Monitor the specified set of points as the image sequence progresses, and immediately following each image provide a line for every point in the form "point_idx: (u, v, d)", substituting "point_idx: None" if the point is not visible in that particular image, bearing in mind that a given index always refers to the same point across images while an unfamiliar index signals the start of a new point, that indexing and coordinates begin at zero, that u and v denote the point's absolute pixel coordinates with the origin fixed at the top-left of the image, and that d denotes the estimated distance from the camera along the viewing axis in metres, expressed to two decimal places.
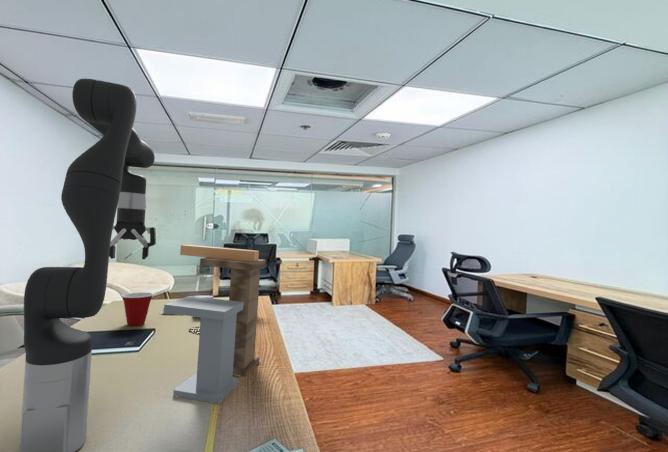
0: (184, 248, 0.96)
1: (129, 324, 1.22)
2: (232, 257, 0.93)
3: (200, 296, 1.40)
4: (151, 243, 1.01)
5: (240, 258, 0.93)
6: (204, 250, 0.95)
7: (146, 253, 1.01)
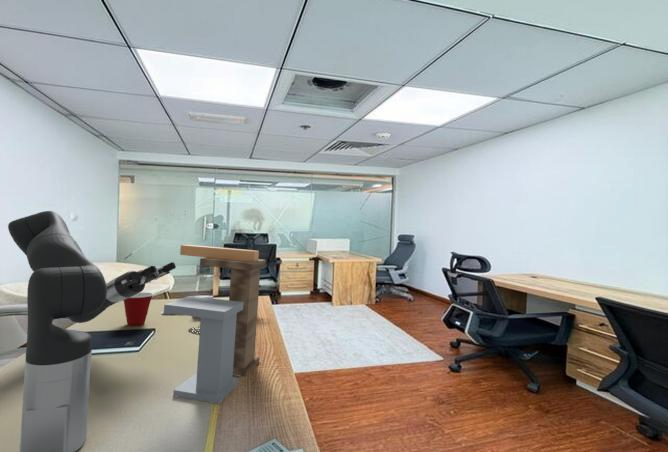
0: (184, 248, 0.96)
1: (129, 324, 1.22)
2: (232, 257, 0.93)
3: (200, 296, 1.40)
4: None
5: (240, 258, 0.93)
6: (204, 250, 0.95)
7: None
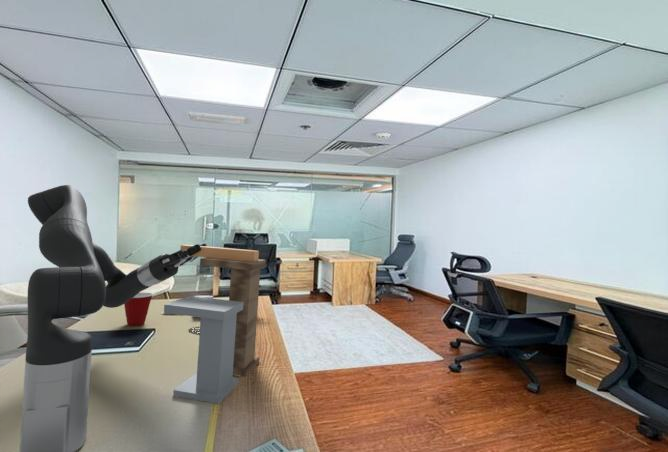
0: (184, 248, 0.96)
1: (129, 324, 1.22)
2: (232, 257, 0.93)
3: (200, 296, 1.40)
4: None
5: (240, 258, 0.93)
6: (204, 250, 0.95)
7: None
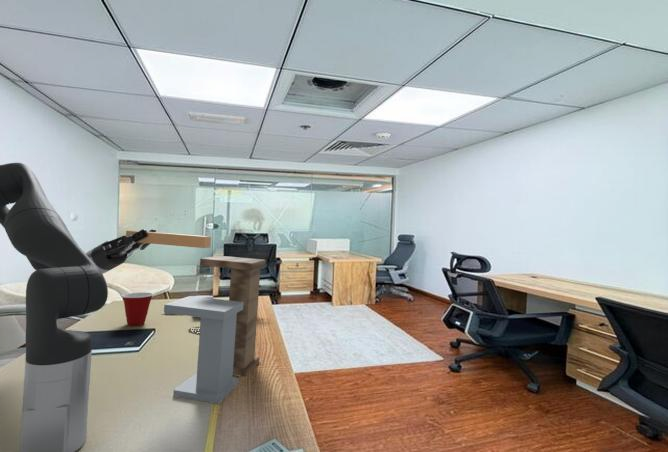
0: (130, 234, 0.88)
1: (129, 324, 1.22)
2: (181, 243, 0.85)
3: (200, 296, 1.40)
4: None
5: (189, 244, 0.84)
6: (151, 235, 0.86)
7: None
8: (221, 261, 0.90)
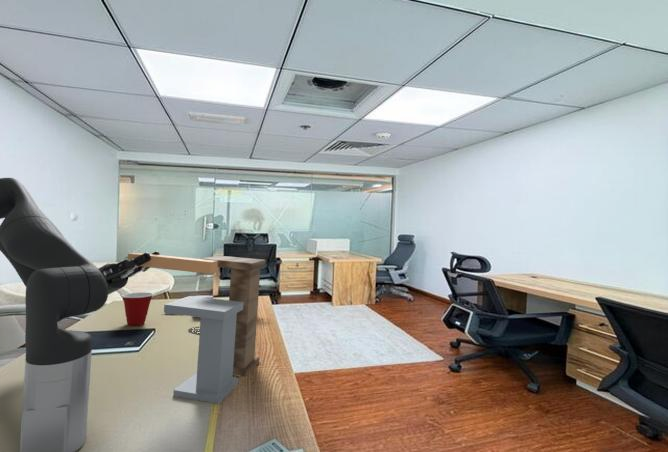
0: (132, 257, 0.83)
1: (129, 324, 1.22)
2: (186, 268, 0.81)
3: (200, 296, 1.40)
4: None
5: (195, 270, 0.80)
6: (154, 259, 0.82)
7: None
8: (221, 261, 0.90)
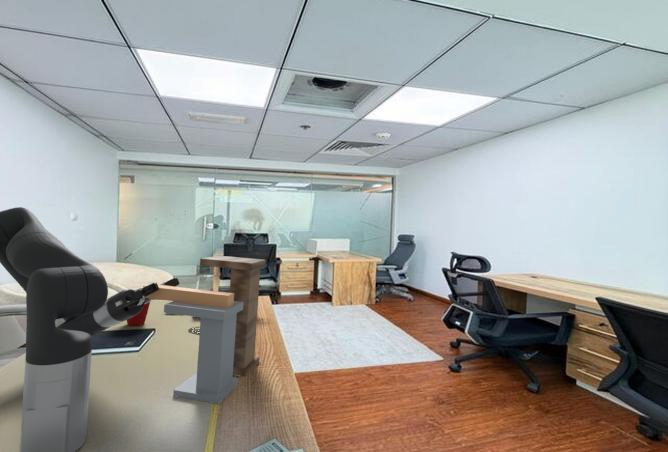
0: None
1: (129, 324, 1.22)
2: (202, 301, 0.80)
3: None
4: None
5: (211, 303, 0.79)
6: (170, 292, 0.81)
7: None
8: (221, 261, 0.90)
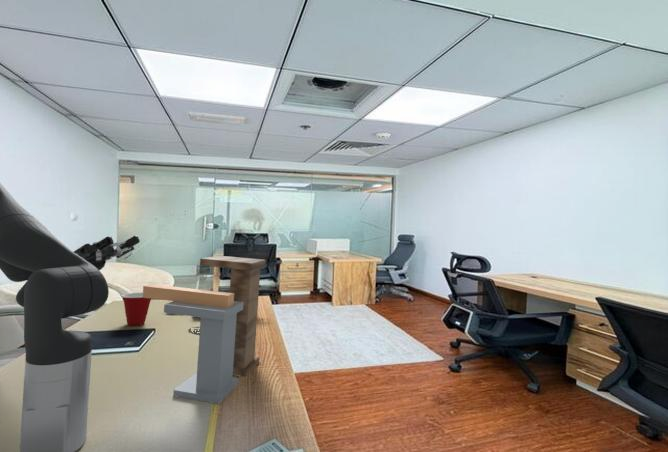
0: (147, 290, 0.82)
1: (129, 324, 1.22)
2: (202, 301, 0.80)
3: None
4: None
5: (211, 303, 0.79)
6: (170, 292, 0.81)
7: None
8: (221, 261, 0.90)
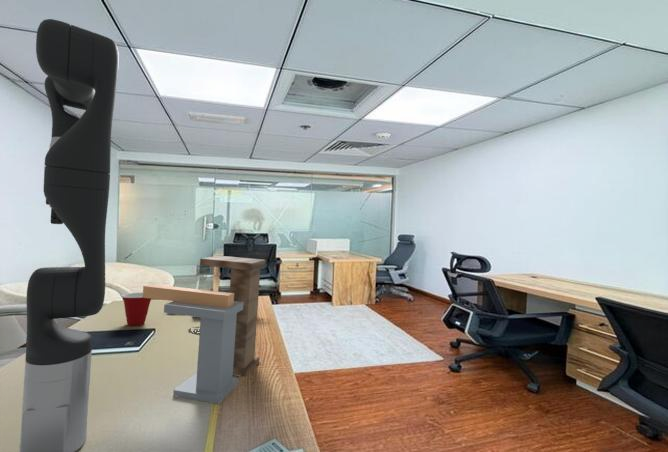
0: (147, 290, 0.82)
1: (129, 324, 1.22)
2: (202, 301, 0.80)
3: None
4: None
5: (211, 303, 0.79)
6: (170, 292, 0.81)
7: None
8: (221, 261, 0.90)
